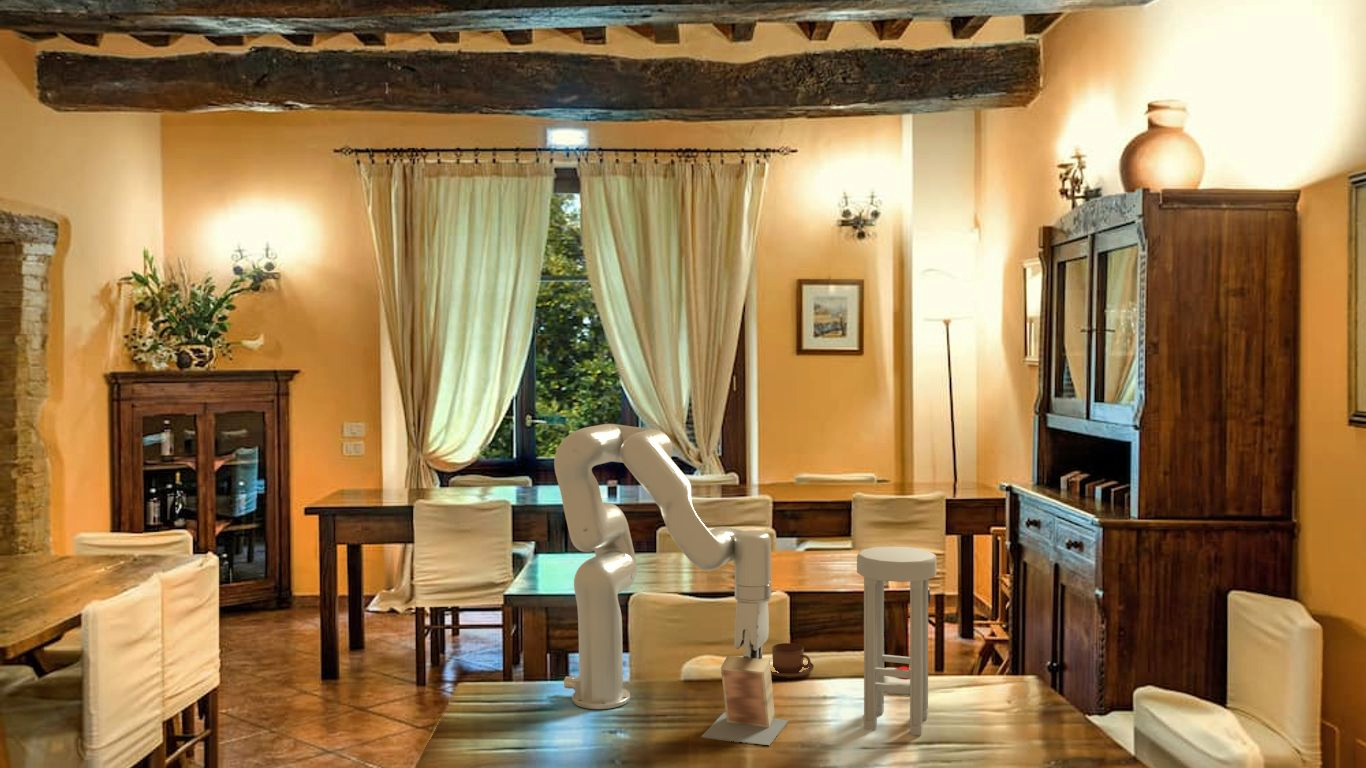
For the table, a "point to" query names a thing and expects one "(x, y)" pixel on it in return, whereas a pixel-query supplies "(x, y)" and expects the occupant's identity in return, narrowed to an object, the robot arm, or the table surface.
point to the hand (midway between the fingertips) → (753, 679)
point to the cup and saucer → (790, 660)
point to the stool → (876, 570)
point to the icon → (897, 681)
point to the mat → (744, 731)
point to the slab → (748, 691)
